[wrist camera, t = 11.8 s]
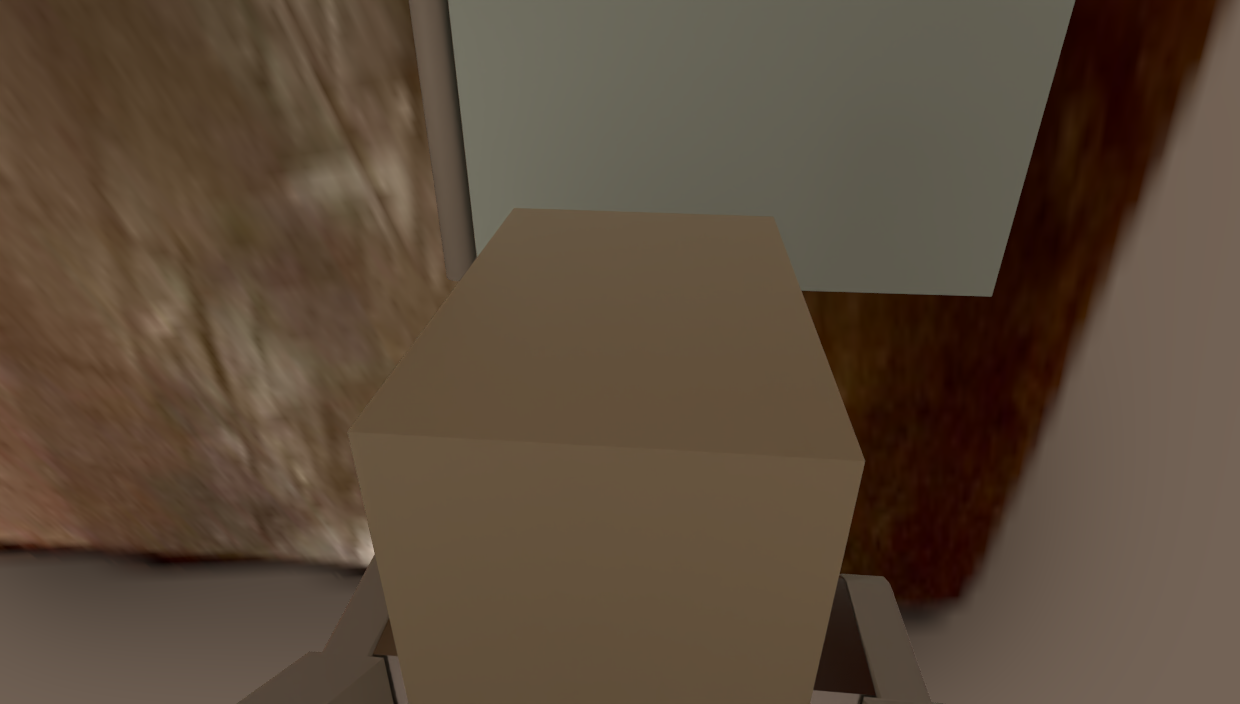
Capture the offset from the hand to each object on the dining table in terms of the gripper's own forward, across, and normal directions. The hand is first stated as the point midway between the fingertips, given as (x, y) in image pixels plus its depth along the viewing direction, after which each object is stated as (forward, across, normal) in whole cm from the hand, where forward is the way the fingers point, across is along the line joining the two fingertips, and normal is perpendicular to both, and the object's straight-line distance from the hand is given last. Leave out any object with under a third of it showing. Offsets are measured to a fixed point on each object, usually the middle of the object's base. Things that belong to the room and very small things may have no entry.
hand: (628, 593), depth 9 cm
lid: (+12, -1, -5) cm, 13 cm away
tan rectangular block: (+2, 0, 0) cm, 2 cm away
